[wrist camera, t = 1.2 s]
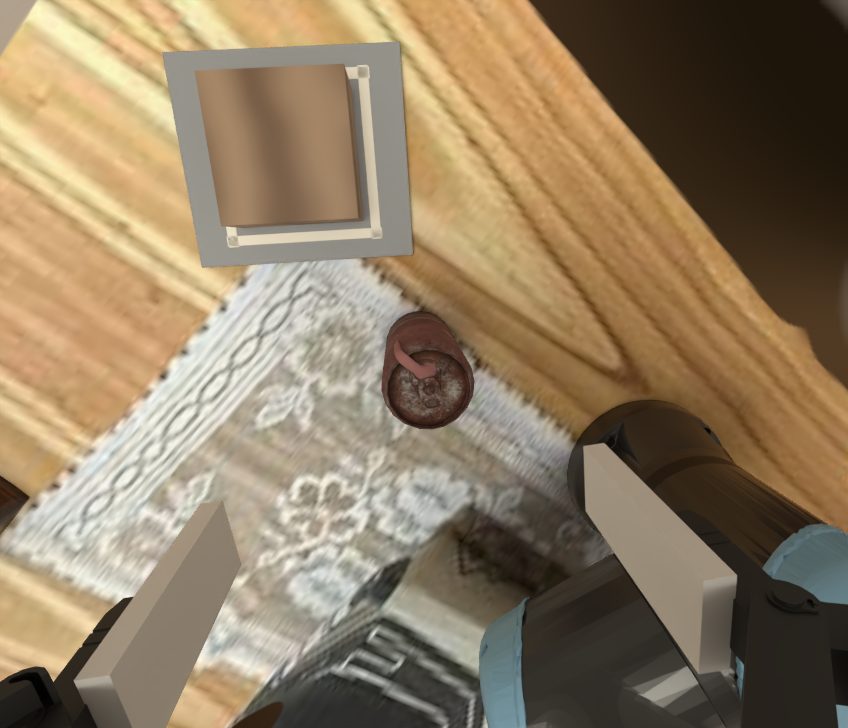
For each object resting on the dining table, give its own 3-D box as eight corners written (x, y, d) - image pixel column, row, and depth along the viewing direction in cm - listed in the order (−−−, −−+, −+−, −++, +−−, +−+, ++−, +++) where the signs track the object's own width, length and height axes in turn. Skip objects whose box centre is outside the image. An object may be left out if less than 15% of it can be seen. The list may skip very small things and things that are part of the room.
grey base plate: (399, 47, 36) (399, 41, 35) (412, 254, 40) (413, 254, 39) (168, 57, 35) (161, 51, 34) (206, 267, 39) (201, 267, 38)
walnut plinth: (351, 87, 35) (344, 63, 31) (363, 221, 38) (358, 217, 33) (222, 94, 35) (194, 70, 30) (243, 228, 38) (220, 226, 33)
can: (413, 295, 41) (421, 321, 27) (465, 339, 42) (496, 385, 29) (371, 344, 42) (358, 393, 28) (422, 386, 43) (433, 452, 30)
